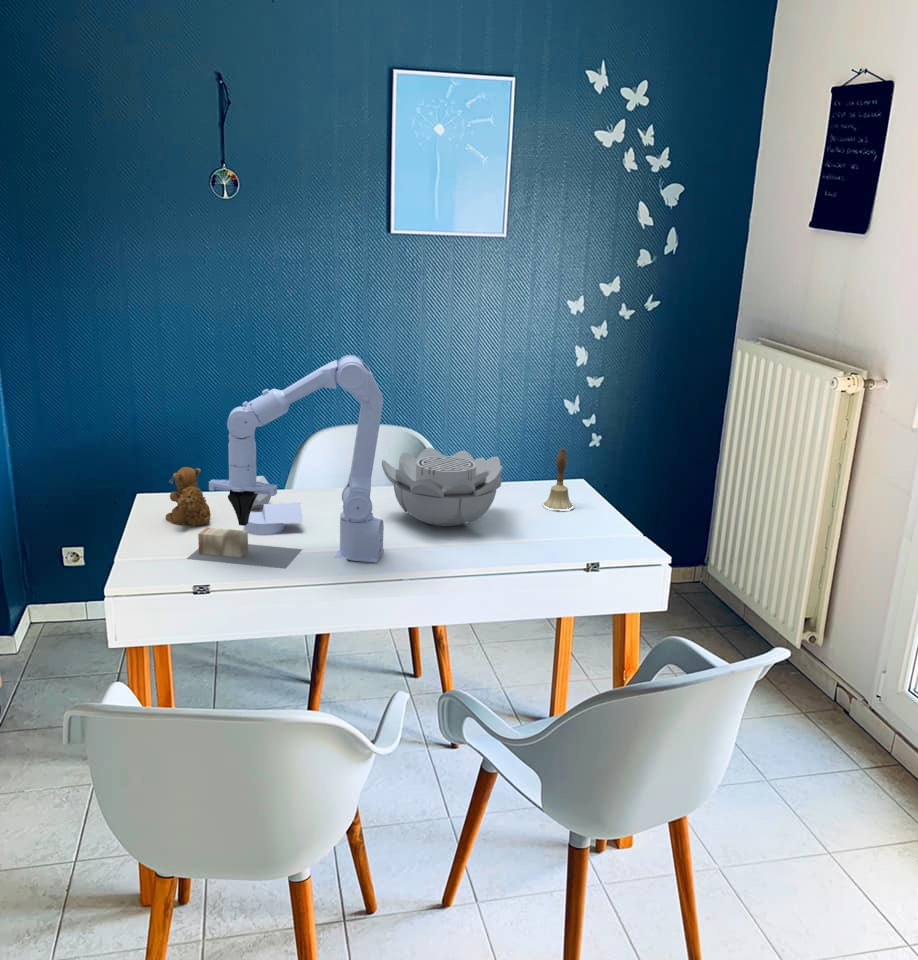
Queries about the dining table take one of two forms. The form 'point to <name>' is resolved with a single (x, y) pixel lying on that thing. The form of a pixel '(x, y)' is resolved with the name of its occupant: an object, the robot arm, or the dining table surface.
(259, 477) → the die
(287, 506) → the wedge on round base
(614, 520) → the dining table surface
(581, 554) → the dining table surface
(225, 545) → the maple block
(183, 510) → the brown furry figure
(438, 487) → the decorative bowl
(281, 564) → the rubber mat
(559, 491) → the hand bell
